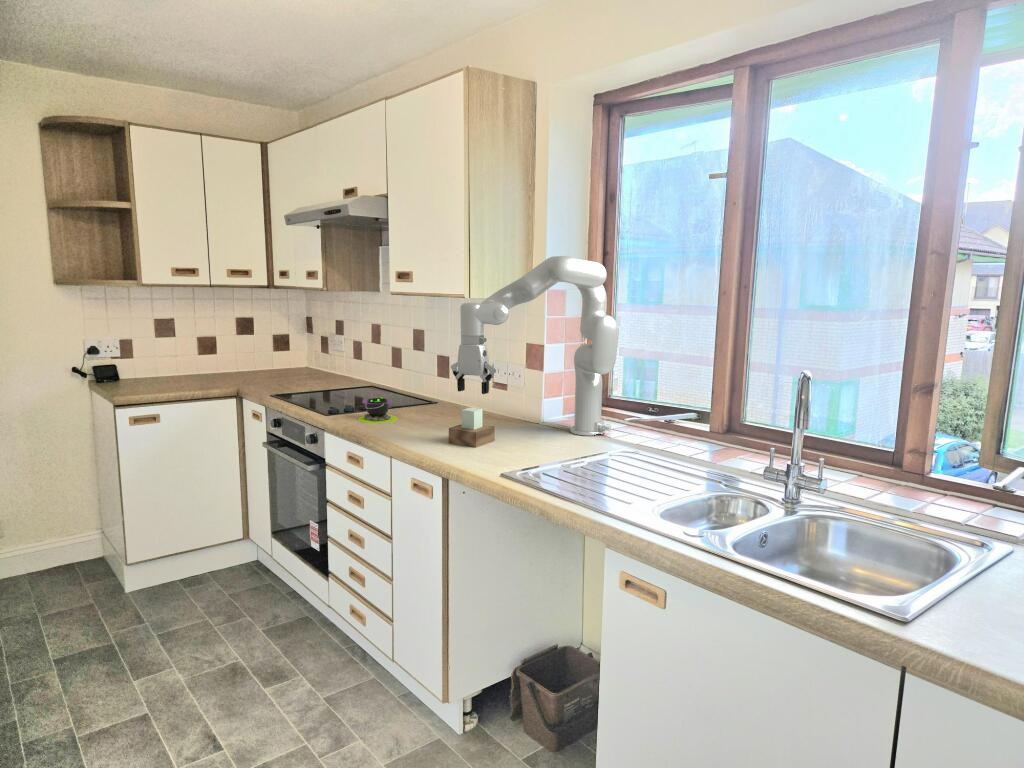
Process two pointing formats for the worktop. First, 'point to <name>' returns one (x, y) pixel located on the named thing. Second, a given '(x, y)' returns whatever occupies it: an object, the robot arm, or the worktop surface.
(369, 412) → the toy cauldron
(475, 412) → the sage block
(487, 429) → the block
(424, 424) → the worktop surface
